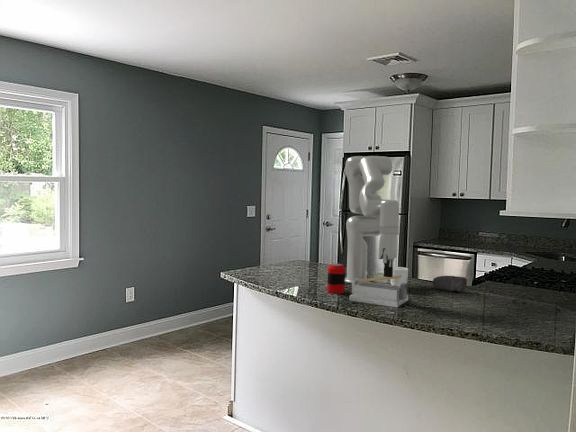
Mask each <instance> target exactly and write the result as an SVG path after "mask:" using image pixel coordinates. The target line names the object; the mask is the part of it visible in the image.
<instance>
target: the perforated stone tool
mask: <svg viewBox="0 0 576 432" xmlns="http://www.w3.org/2000/svg"><path fill="white" fill-rule="evenodd" d="M467 281H468V279H467V278H466V276H465V277H464V276H455V275H441V276H437V277H434V278H433V279H432V283H431V284H432V286H433V287H434V288H436V290H437V289H438V290H442V291H445V292H446V291H447V292H457V293H461V292H463V291H465V290H466V288H467V286H468V283H467Z"/></svg>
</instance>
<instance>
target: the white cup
mask: <svg viewBox="0 0 576 432" xmlns="http://www.w3.org/2000/svg"><path fill="white" fill-rule="evenodd" d="M397 275H401V278H397V279H389V280H390V285H397V286H400V285H401V284H403V283H407V284H408V279H409V276H408V275H409V268H408V267H403V266H393V276H397Z"/></svg>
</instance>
